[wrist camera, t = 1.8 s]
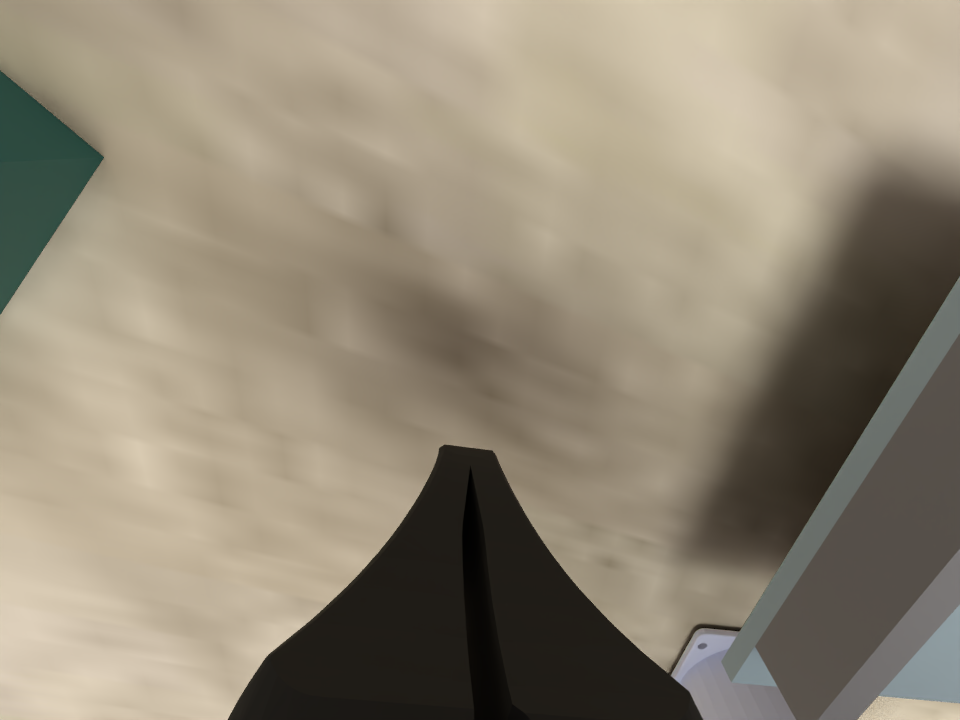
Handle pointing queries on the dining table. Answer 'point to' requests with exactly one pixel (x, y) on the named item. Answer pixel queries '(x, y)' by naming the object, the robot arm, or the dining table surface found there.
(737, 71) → the dining table surface
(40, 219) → the bracket
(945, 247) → the dining table surface
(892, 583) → the lid
